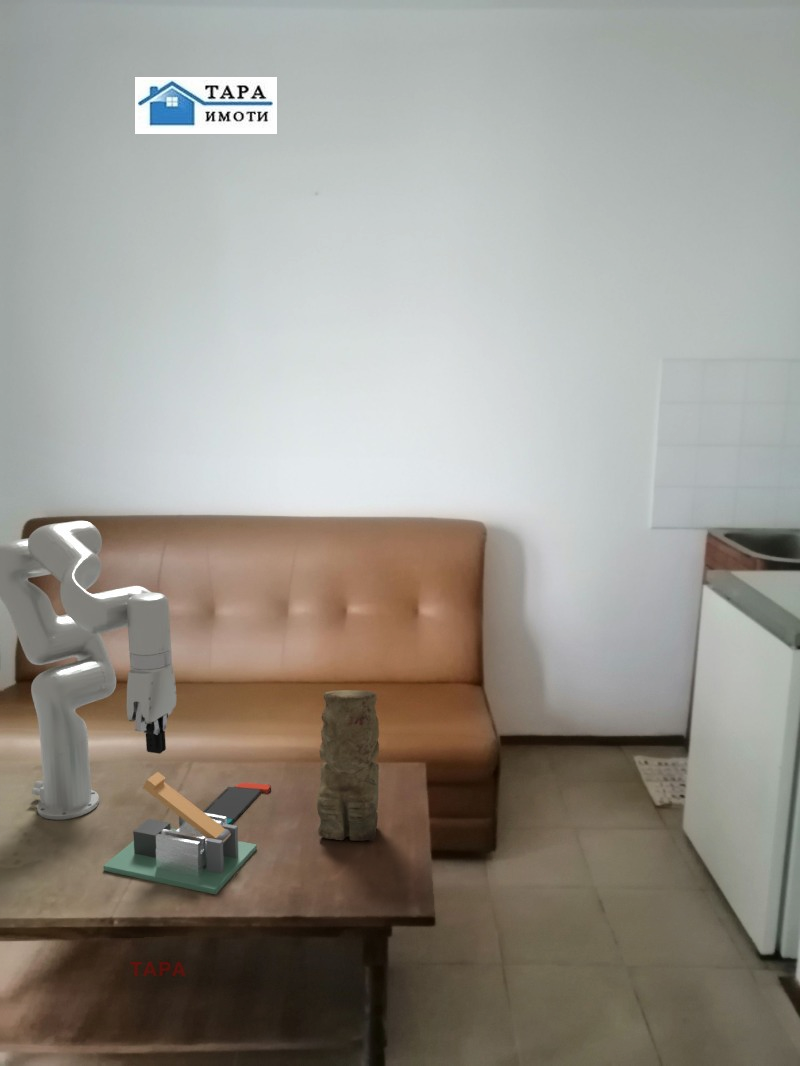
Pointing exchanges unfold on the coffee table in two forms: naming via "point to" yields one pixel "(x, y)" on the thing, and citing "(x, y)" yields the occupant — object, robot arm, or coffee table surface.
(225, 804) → the gaming console
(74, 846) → the coffee table surface
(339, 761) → the sculpture
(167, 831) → the heat sink
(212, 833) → the tan long bar
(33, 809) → the coffee table surface
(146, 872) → the board
